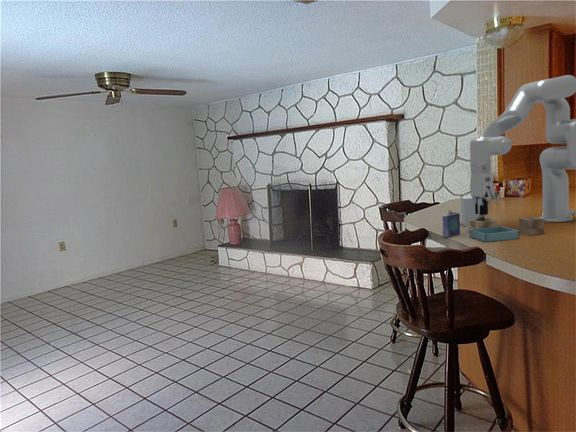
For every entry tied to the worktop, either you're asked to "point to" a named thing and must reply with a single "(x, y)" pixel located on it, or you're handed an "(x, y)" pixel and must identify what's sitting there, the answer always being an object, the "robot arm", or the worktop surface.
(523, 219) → the walnut block
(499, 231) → the teal tray
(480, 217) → the steel pin
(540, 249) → the worktop surface
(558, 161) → the robot arm
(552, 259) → the worktop surface
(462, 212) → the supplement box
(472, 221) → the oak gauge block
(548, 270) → the worktop surface
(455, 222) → the flask
